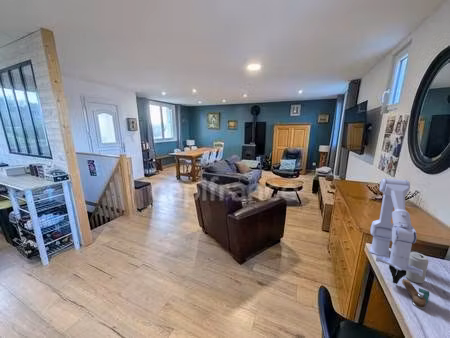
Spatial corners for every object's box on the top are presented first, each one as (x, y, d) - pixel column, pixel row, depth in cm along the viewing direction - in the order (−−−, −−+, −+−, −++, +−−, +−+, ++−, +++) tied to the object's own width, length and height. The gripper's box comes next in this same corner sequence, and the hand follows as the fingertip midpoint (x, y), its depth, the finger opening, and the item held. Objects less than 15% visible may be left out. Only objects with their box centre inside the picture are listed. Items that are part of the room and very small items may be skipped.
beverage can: (428, 285, 80) (433, 261, 78) (410, 283, 81) (415, 259, 79) (416, 274, 86) (421, 251, 84) (400, 272, 87) (404, 250, 85)
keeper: (417, 297, 74) (419, 287, 73) (426, 301, 72) (429, 291, 72) (417, 299, 73) (419, 290, 72) (427, 303, 71) (429, 293, 71)
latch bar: (426, 308, 69) (428, 302, 68) (415, 305, 70) (416, 299, 69) (409, 285, 79) (410, 279, 79) (400, 283, 81) (401, 277, 80)
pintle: (411, 299, 73) (413, 289, 73) (424, 304, 71) (426, 294, 70) (412, 305, 71) (414, 295, 70) (425, 311, 68) (428, 301, 68)
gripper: (377, 251, 80) (373, 278, 82) (426, 267, 70) (419, 297, 73) (378, 244, 85) (374, 270, 87) (423, 257, 75) (417, 286, 78)
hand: (394, 282), depth 80 cm, fingers closed
